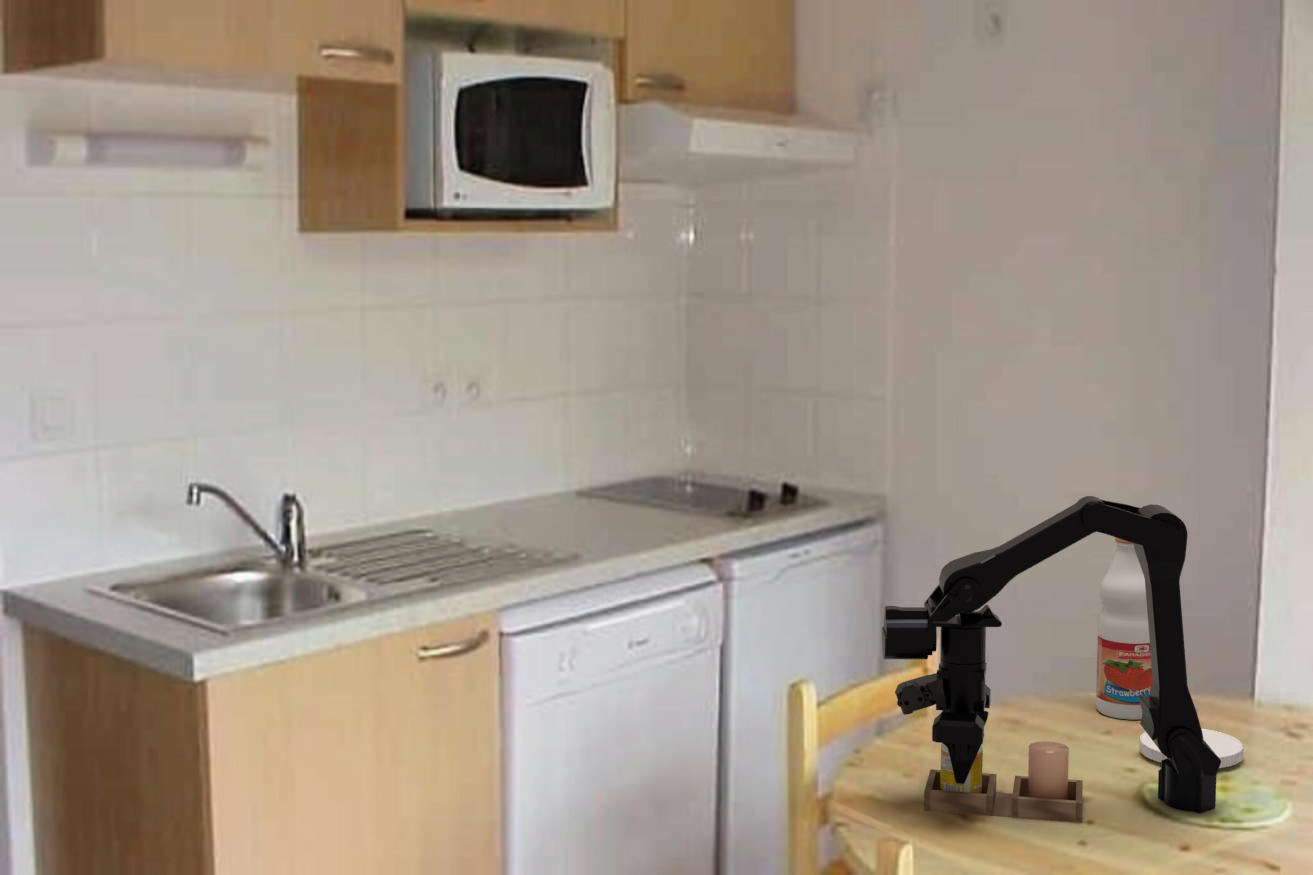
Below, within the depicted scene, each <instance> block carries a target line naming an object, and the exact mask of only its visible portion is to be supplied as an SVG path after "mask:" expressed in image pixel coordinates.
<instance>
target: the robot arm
mask: <svg viewBox="0 0 1313 875" xmlns="http://www.w3.org/2000/svg"><path fill="white" fill-rule="evenodd" d="M1093 533H1100V534H1104V535H1107V536H1110V537H1114V538H1115V537H1116V538H1119V539H1122V540H1125V541H1128V542H1131V543H1133V545H1134V548H1135V552H1136V555H1137V558H1138V561H1139V563H1140V566H1141V569H1142V572H1143V574H1144V578H1145V588H1146V601H1147V613H1148V625H1149V638H1150V650H1151V662H1152V675H1153V685H1152V688H1151V692H1150V695H1149V696H1139V701H1140V705H1141V708H1142V719H1140V722H1139V724H1140V727H1142V729H1143V730H1144V732H1147V734H1148V735H1149V737H1150V738H1151V739H1152V740H1153V742H1154V743H1155V745H1156V746H1157V747H1158V749H1159V750H1160V751H1161V753H1162V754H1164V755H1165V756H1166V757H1167V759H1164V760H1161V762H1160V769H1159V770H1158V774H1157V775H1158V776H1157V777H1158V778H1157V799H1159V800H1160V801H1161V802H1164V804H1165V805H1166V806H1167V807H1169V808H1171V809H1174V810H1177V811H1181V812H1189V813H1197V814H1203V813H1206V812H1209V811H1211V810H1215V809H1216V805H1217V804H1216V802H1217V801H1216V799H1217V774H1218V771H1219V770H1220V768H1219V766H1220V764H1221V760H1220V758H1219V757H1218V756H1217V755H1216V754H1215V753H1214V751H1213V750H1212V749H1211V748H1210V747H1209V745H1208V744H1207V743H1206V742H1205V741H1204V739H1203V733H1202V730H1201V728H1202V727H1201V724H1200V719H1199V715H1198V711H1197V709H1196V707H1195V703H1194V701H1193V697H1192V695H1191V693H1190V690H1189V686H1188V674H1187V661H1186V648H1185V636H1184V634H1185V633H1184V625H1183V624H1184V623H1183V610H1182V609H1183V608H1182V599H1181V585H1180V581H1181V577H1182V576H1181V575H1182V571H1183V568H1184V565H1185V562H1186V556H1187V554H1186V553H1187V545H1188V537H1189V536H1188V534H1189V533H1188V530H1187V526H1186V524H1185V523H1184V521H1183V520H1182V519H1181V518H1180V517H1178V516H1177V515H1176V514H1175V513H1173V512H1171V511H1170V510H1169V509H1167V508H1166V507H1165V506H1162V505H1159V504H1150V503H1149V504H1147V505H1144V506H1142V507H1138V506H1135V505H1130V504H1126V503H1122V502H1116V501H1110V500H1104V499H1101V498H1099V497H1098V496H1097V497H1096V496H1094V495H1086V496H1082V497H1081V498H1079V499H1078V501H1076V503H1074V504H1072V505H1070V506H1069V507H1067V508H1065V509H1064V510H1062V511H1060V512H1058V513H1056V514H1054V515H1053V516H1051V517H1049V518H1047V519H1046V520H1043V521H1042V522H1040V523H1038V524H1036V525H1034V526H1033V527H1031V528H1029V529H1028V530H1026V531H1024V532H1022V533H1021V534H1018V535H1017V536H1015V537H1014V538H1011V539H1010V540H1008V541H1006V542H1004V543H1003V544H1001V545H999V546H995V547H993V548H990V549H986V550H981V551H977V552H971V553H970V554H967V555H964V556H962V557H959V558H956V559H953V560H950V561H948V563H946V564H945V565H944V566H943V568H941V570H940V575H939V578H938V585H937V586H936V587H935V588H934V589H933V591H932V592H931V594H930V595H929V596H928V598H927V599H926V600H925V601H924V602H923V606H922V607H921V606H920V607H919V606H918V607H916V606H915V607H914V606H913V607H912V606H911V607H910V606H907V607H905V606H903V607H901V606H896V605H885V606H884V615H883V626H882V627H881V648H882V659H883V660H928V658H929V656H933V652H935V653H936V652H937V645H938V644H937V642H938V638H937V637H938V636H937V635H938V634H937V630H938V629H937V628H940V658H939V660H940V661H939V662H940V663H939V664H938V669H937V670H936V673H932V674H931V673H930V674H926V675H923V676H919V677H915V678H912V679H909V680H904V681H902V682H900V683H898V684H897V686H896V688H895V690H894V694H895V697H896V699H897V702H896V705H897V706H898V707H900V710H901V712H902V715H911V714H913V713H914V712H916V711H920V710H922V709H926V708H930V707H932V706H935V711H941V712H940V713H939V714H938V715H937V716H935V717H934V720H933V723H932V726H931V728H932V730H931V731H932V732H931V733H932V734H931V742H934V743H938V744H939V743H941V744H942V743H943V744H944V745H945V746H946V747H947V748H948V751H949V755H950V760H951V764H952V768H953V772H954V777H955V781H956V783H958V784H964V783H965V781H966V779H967V777H968V774H969V772H970V769H971V767H972V765H973V762H974V760H975V758H976V756H977V753H978V751H979V749H980V747H981V744H982V745H983V744H984V737H985V726H986V724H987V720H988V719H989V718H988V717H989V711H987V710H985V709H990V708H991V701H992V700H991V698H992V697H991V694H992V692H991V691H992V690H991V688H990V687H989V686H988V685H987V684H986V673H987V665H988V664H987V662H986V659H987V658H986V657H987V656H986V650H987V647H986V644H987V642H986V641H987V637H986V634H987V628H1001V627H1002V625H1003V623H1002V621H1001V620H1000V618H999V616H998V615H997V614H996V613H994V612H993V611H992V610H991V607H990V606H989V605H988V604H987V603H989V602H990V601H991V600H992V599H993V598H995V597H996V596H997V595H998V594H999V593H1001V592H1002V590H1003V589H1004V588H1005V587H1006V586H1007V585H1008V584H1009V583H1010V582H1011V581H1012V580H1013V579H1015V577H1017V576H1018V575H1020V574H1022V573H1024V572H1026V571H1027V570H1030V569H1032V568H1033V567H1035V566H1037V565H1039V564H1040V563H1042V562H1044V561H1046V560H1047V559H1049V558H1051V557H1052V556H1055V555H1056V554H1058V553H1060V552H1061V551H1064V550H1065V549H1067V548H1069V547H1070V546H1073V545H1075V544H1076V543H1077V542H1079V541H1081V540H1084V539H1085V538H1087V537H1089V536H1090V535H1092V534H1093Z"/></svg>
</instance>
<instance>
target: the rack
mask: <svg viewBox="0 0 1313 875" xmlns="http://www.w3.org/2000/svg"><path fill="white" fill-rule="evenodd" d="M940 774H941V769H933V768H931V769H929V774H928V777H927V780H926V784H925V787H924V792H923V799H924V800H923V808H924V809H923V810H924V811H925V812H939V813H949V814H950V813H953V814H965V815H977V816H987V817H988V816H989V817H1001V818H1013V819H1015V818H1016V819H1027V820H1038V821H1039V820H1040V821H1041V820H1042V821H1049V822H1051V821H1053V822H1062V823H1063V822H1064V823H1074V824H1076V823H1078V824H1082V823H1083V800H1084V798H1083V792H1084V791H1083V789H1084V786H1083V785H1084V781H1083V780H1082V779H1069V778H1068V800H1059V799H1046V798H1033V797H1028V775H1014V781H1013V787H1012V788H1013V789H1012V793H1008V792H999V791H998V792H997V773H987V772H982V794H981V793H968V792H955V791H941V790H940Z"/></svg>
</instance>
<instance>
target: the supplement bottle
mask: <svg viewBox="0 0 1313 875" xmlns="http://www.w3.org/2000/svg"><path fill="white" fill-rule="evenodd" d="M983 749H984V748H983V744H981V747H980V749H979V751H978V753H977V756H976V758H975V760H974V762H973V765H972V767H971V769H970V772H969V774H968V777H967V779H966V781H965V783H964V784H958V783H956V781H955V777H954V772H953V768H952V764H951V760H950V755H949V751H948V748H947V747H946V746H945V745H944V744H943V743H941V744H940V770H941V774H940V790H941V791H955V792H968V793H981V794H982V773H983V762H984V760H983V757H984V756H983V754H984V753H983V752H984V750H983Z"/></svg>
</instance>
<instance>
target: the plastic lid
mask: <svg viewBox="0 0 1313 875" xmlns="http://www.w3.org/2000/svg"><path fill="white" fill-rule="evenodd" d="M1201 730H1202V733H1203V739H1204V741H1205V742H1206V743H1207V744H1208V745H1209V747H1210V748H1211V749H1212V750H1213V751H1214V753H1215V754H1216V755H1217V756H1218V757H1219V758H1220V760H1221V764H1220V766H1219V769H1222V768H1224V769H1225V768H1229V767H1232V766H1235V765H1237V764H1239V763H1241V762H1242V761H1243V759H1244V744H1243V742H1242V741H1240V740H1239V739H1238V738H1236V737H1234V736H1232V735H1230V734H1227V733H1224V732H1220V731H1216V730H1212V729H1208V728H1202V727H1201ZM1138 743H1139V744H1138V748H1139V749H1138V750H1139V752H1140V753H1141V755H1143V756H1144V757H1146V758H1148V759H1150V760H1151V761H1154V762H1158V763H1161V760H1164V759H1167V757H1166V756H1165V755H1164V754H1162V753H1161V751H1160V750H1159V749H1158V747H1157V746H1156V745H1155V743H1154V742H1153V740H1152V739H1151V738H1150V737H1149V735H1148V734H1147V732H1146V731H1144V732H1142V733H1141V734H1140V735H1139V742H1138Z"/></svg>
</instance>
